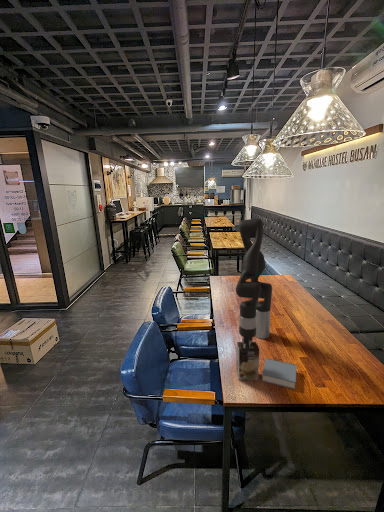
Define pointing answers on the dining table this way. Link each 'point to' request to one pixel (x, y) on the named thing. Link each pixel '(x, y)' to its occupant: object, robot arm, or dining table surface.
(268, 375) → the book
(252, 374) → the coffee box
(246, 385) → the dining table surface
